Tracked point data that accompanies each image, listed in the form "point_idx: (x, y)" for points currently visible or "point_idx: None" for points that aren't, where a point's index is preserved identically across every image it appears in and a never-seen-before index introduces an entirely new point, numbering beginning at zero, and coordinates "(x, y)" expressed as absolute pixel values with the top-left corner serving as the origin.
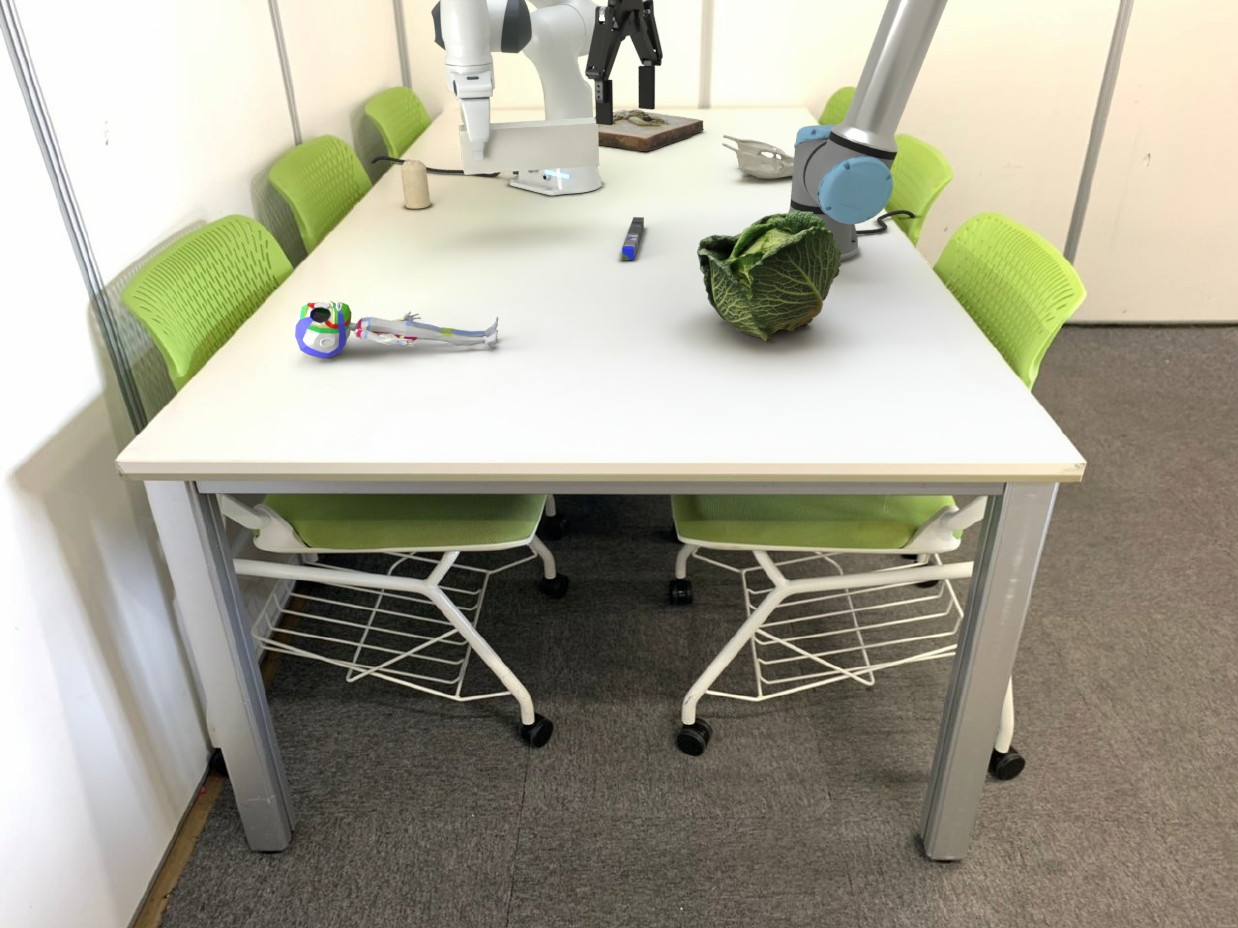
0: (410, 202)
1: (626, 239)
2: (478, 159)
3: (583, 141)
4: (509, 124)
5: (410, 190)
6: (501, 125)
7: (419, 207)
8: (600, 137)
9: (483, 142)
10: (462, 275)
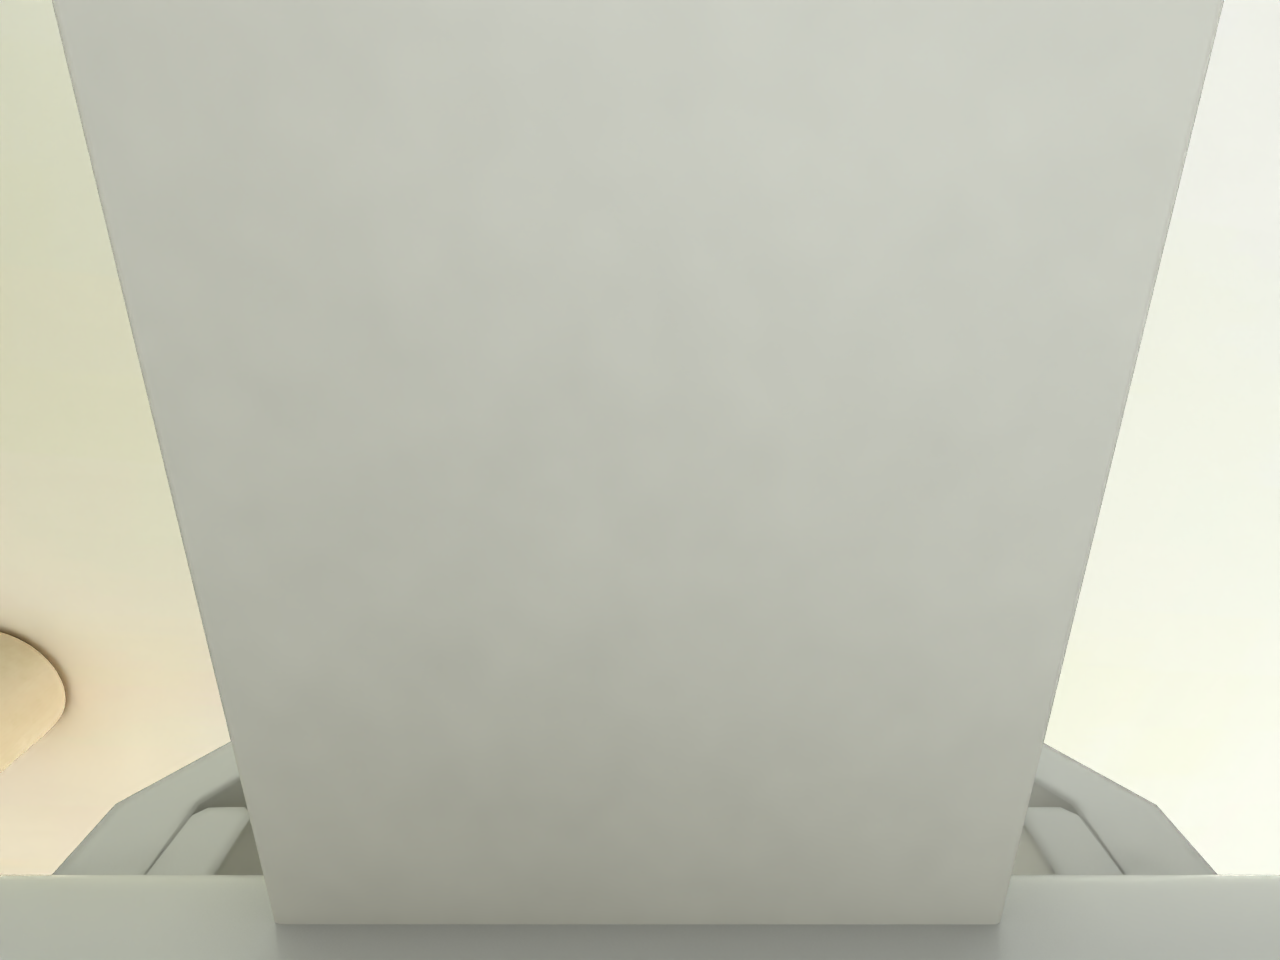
0: (37, 737)
1: None
2: None
3: None
4: (511, 109)
5: None
6: (627, 460)
7: (58, 683)
8: None
9: (1154, 811)
10: (1153, 555)
